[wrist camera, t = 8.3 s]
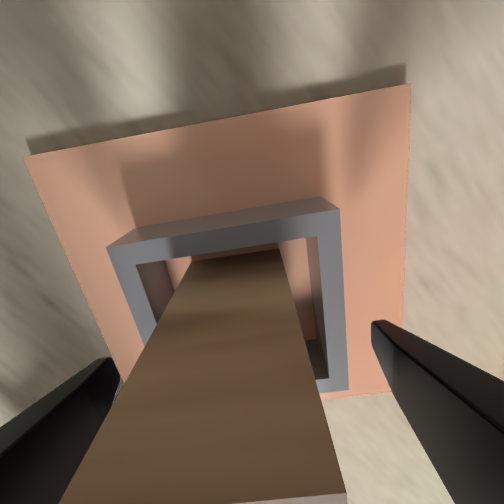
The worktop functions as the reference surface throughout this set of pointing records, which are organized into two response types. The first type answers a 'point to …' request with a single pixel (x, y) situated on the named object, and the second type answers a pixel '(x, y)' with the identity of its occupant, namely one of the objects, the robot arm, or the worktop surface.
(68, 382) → the robot arm
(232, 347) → the wooden block
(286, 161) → the block holder
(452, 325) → the worktop surface
